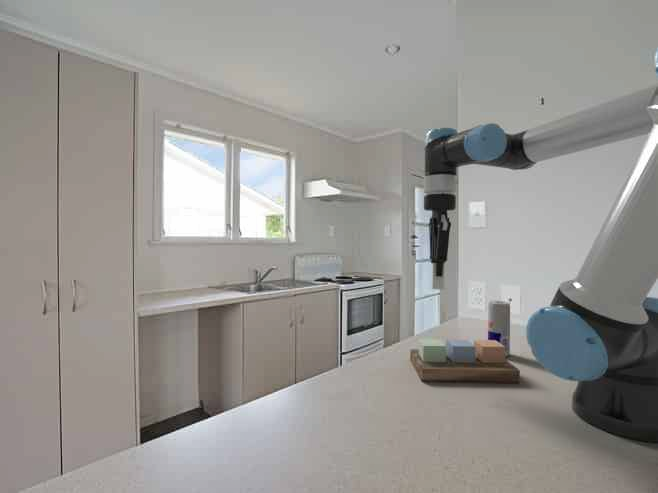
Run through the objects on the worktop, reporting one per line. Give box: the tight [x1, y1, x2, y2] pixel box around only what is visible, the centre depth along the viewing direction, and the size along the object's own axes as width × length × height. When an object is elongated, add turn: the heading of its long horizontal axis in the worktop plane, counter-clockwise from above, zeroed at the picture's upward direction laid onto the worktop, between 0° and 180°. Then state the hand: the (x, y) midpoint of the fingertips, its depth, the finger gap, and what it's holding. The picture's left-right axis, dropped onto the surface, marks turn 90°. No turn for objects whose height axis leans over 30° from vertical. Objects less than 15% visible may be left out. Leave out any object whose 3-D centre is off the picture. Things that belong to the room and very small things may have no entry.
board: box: [409, 348, 521, 384], centre depth 86 cm, size 14×22×3 cm, turn 87°
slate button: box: [445, 339, 476, 363], centre depth 86 cm, size 5×5×4 cm
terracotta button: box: [473, 339, 506, 363], centre depth 86 cm, size 5×5×4 cm
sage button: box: [418, 338, 446, 362], centre depth 86 cm, size 5×5×4 cm
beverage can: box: [487, 300, 511, 357], centre depth 98 cm, size 6×6×15 cm
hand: (437, 288), depth 87 cm, fingers closed
